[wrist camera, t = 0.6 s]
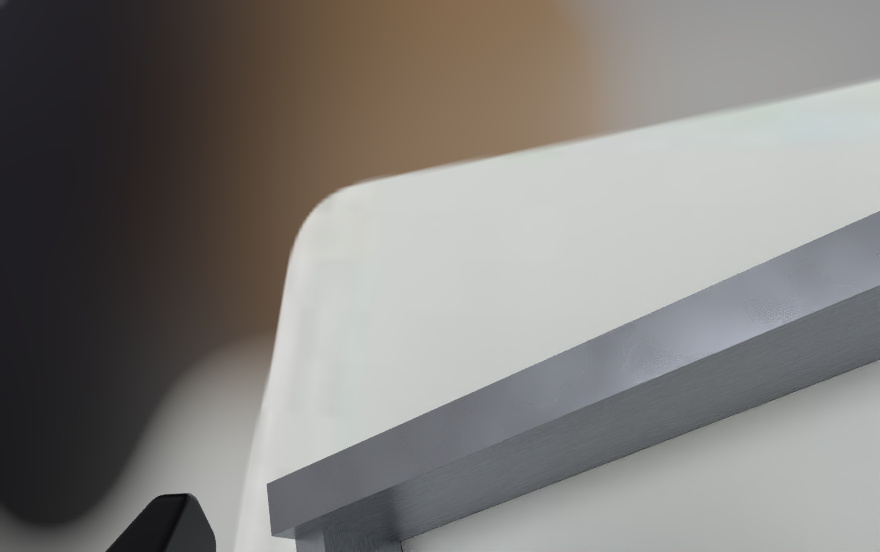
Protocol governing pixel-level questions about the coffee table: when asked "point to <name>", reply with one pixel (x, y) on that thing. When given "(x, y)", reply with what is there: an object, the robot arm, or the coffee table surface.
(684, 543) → the coffee table surface
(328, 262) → the coffee table surface
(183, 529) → the robot arm
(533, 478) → the grey u-shaped bracket
